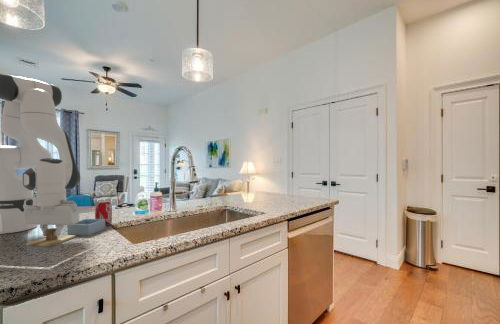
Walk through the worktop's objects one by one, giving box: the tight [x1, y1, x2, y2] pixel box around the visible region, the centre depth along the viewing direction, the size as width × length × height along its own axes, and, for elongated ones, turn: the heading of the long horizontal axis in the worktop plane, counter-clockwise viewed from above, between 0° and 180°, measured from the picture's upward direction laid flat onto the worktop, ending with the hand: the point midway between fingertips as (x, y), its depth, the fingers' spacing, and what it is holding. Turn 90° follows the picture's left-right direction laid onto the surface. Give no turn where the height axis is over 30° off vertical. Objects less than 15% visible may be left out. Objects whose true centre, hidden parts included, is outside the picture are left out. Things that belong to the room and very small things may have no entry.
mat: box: [24, 236, 77, 248], centre depth 90 cm, size 11×11×1 cm
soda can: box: [94, 199, 113, 227], centre depth 114 cm, size 7×7×12 cm
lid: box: [25, 227, 77, 247], centre depth 90 cm, size 10×10×5 cm
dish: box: [67, 218, 106, 236], centre depth 102 cm, size 10×10×5 cm
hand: (51, 235), depth 90 cm, fingers open, 3 cm apart
